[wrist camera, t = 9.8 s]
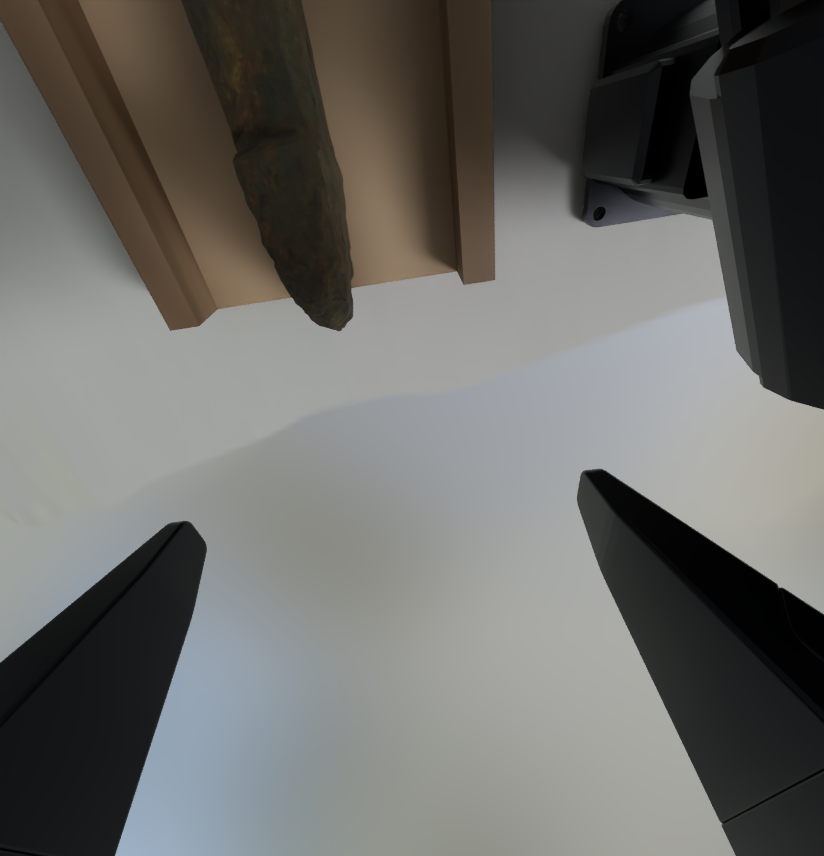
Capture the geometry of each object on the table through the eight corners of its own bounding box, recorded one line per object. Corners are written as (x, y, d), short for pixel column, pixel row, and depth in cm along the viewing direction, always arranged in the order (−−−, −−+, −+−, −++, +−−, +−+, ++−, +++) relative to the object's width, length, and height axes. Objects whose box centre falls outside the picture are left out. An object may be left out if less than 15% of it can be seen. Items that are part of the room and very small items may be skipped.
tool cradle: (448, -722, 7) (476, -1189, 5) (480, 261, 17) (495, 279, 15) (-196, -529, 8) (-470, -842, 5) (201, 305, 18) (170, 330, 15)
